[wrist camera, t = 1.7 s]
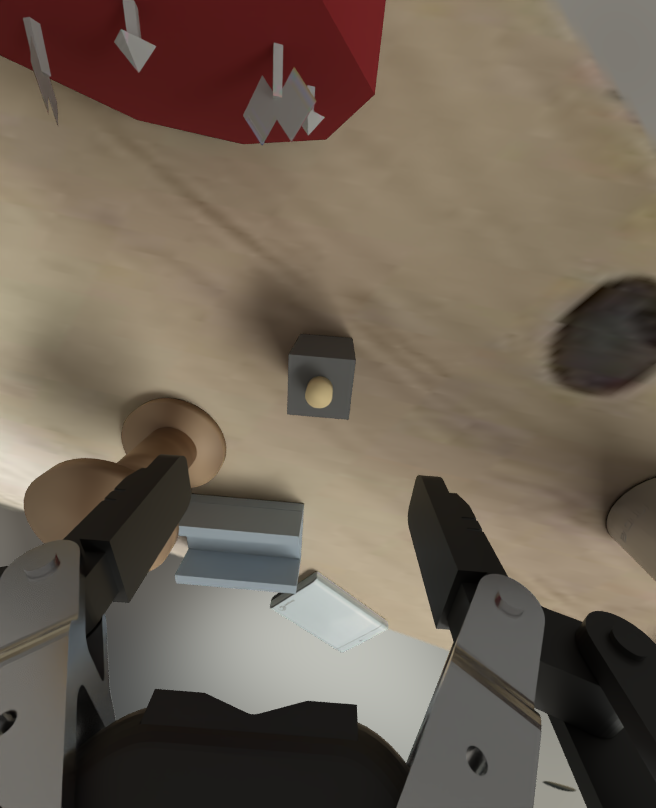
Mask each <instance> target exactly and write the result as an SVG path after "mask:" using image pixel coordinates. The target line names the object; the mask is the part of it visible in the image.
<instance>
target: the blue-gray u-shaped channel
mask: <svg viewBox="0 0 656 808" xmlns="http://www.w3.org/2000/svg"><path fill="white" fill-rule="evenodd" d="M303 512H304V504H299V503H288V502H277V501H266V500H254V499H243V498H232V497H221V496H209V495H198V494H191V500H190V504H189V506H188V509H187V510H186V512H185V514H184V515H183V517H182V519H181V520H180V522H179V534H178V535H179V536H187V542H188V548H189V549H188V551H187V553H186V555H185V557H184V559H183V561H182V562H181V564H180V566H179V568H178V570H177V572H176V573H175V579H176V583H182V584H192V585H203V586H214V587H226V588H236V589H247V590H259V591H269V592H281V593H292V594H296V590H297V582H298V575H299V568H300V561H301V547H302V529H303Z"/></svg>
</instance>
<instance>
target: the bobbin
mask: <svg viewBox="0 0 656 808" xmlns="http://www.w3.org/2000/svg"><path fill="white" fill-rule="evenodd" d="M121 436H122V444H123V448H124V450H125V453H126V455H125V456H124V457H123V458H122V459H121V460H120V461H119V462H118V463H114V462H110V461H106V460H100V459H91V458H81V459H72V460H68V461H64V462H62V463H59V464H57V465H55V466H54V467H52V468H51V469H49V470H48V471H46V472H45V473H43V474H42V475H41V476H39V477H38V478H36V479H35V480H34V481H33V482H32V483H31V484H30V486H29V487H28V489H27V491H26V493H25V497H24V511H25V515H26V518H27V520H28V522H29V524H30V526H31V528H32V530H33V531H34V532H35V534H36V535H37V536H38V537H39V539H40V540H41V541H42V542H43V543H47V542H51V541H56V540H63V539H64V538H65V537H66V536H67V535H68V534H69V533H70V532H71V531H72V530H73V529H74V528H75V527H76V526H77V525H78V524H79V523H80V522H81V521H82V520H83V519H84V518H85V517H86V516H87V515H88V514H89V513H90V512H91V511H92V510H93V509H94V508H95V507H96V506H97V505H98V504H99V503H100V502H101V501H104V498H105V497H106V496H107V495H108V494H109V493H110V492H111V491H114V488H115V487H116V486H117V485H118V484H119V483H120V482H121V481H122V480H123V479H124V478H125V477H127V476H128V475H130V474H132V473H133V472H135V471H137V470H139V469H140V468H147V467H148V466H149V465H150V464H151V463H152V462H153V460H154V459H155V458H156V457H157V456H158V455H160V454H167V455H180V456H185V457H186V460H187V465H188V471H189V478H190V485H191V488H194V487H198V486H201V485H203V484H205V483H207V482H209V481H210V480H211V479H212V478H214V477H215V475H216V474H217V473H218V471H219V469H220V468H221V466H222V464H223V462H224V460H225V456H226V443H225V439H224V436H223V433H222V431H221V429H220V428H219V426H218V425H217V423H216V422H215V421H214V420H213V419H212V418H211V417H210V416H209V415H208V414H207V413H206V412H205V411H203V410H202V409H200V408H199V407H197V406H195V405H193V404H191V403H188V402H186V401H182V400H179V399H172V398H161V399H155V400H151V401H149V402H146V403H145V404H143V405H141V406H140V407H138V408H137V409H135V410H134V411H133V412H132V413H131V414H130V415H129V416H128V417H127V418H126V420H125V422H124V424H123V427H122V433H121ZM178 534H179V523H178V525H177V527H176V528H175V530H174V531H173V533H172V535H171V536H170V538H169V539H168V541H167V543H166V544H165V546H164V548H163V549H162V551H161V552H160V554H159V556H158V557H157V559H156V560H155V562H154V564H153V565H152V567H151V568H150V570H149V571H151V570H153V569H155V568H157V567H158V566H159V565H160V564H162V563H163V562H164V560H165V559H166V558H167V556H168V554H169V553H170V551H171V549H172V548H173V546H174V544H175V542H176V541H177V538H178Z"/></svg>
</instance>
